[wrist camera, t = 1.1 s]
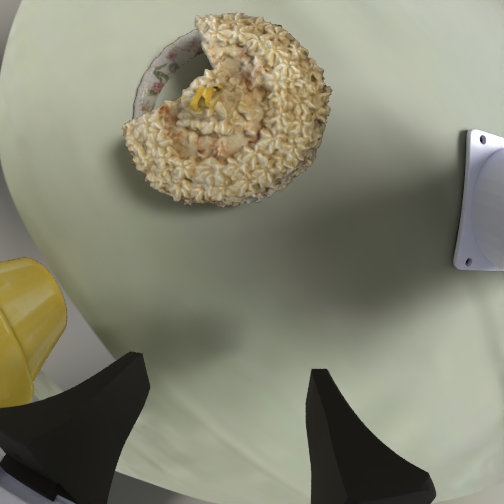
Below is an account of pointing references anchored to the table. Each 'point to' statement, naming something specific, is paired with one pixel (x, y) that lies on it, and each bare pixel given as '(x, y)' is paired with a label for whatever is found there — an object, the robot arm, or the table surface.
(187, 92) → the cake
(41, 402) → the robot arm
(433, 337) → the table surface
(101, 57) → the table surface
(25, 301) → the plant pot
